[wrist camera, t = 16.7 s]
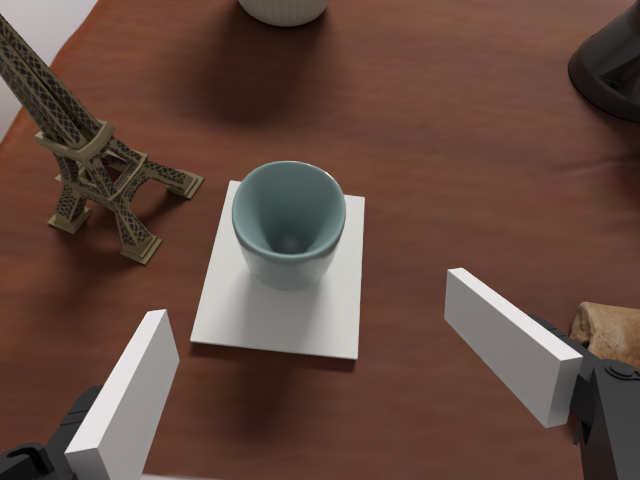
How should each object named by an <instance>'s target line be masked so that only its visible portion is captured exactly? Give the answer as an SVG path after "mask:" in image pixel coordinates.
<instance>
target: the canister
mask: <svg viewBox="0 0 640 480" xmlns="http://www.w3.org/2000/svg"><path fill="white" fill-rule="evenodd" d="M238 1H239V3H240V4H241V5H242V7H243V8H244V9H245V11H247V12H248V13H249V14H250V15H251V16H253V17H254V18H255V19H257V20H260V21H261V22H265V23H267V24H272V25H274V26H280V27H282V26H286V27H288V26H293V27H294V26H296V25H302V24H306V23H308V22H311V21H313V20H314V19H316V18H317V17H318V16H319V15H320V14H322V12H323V11H324V10H325V8H326V7H327V5H328V3H329V0H238Z"/></svg>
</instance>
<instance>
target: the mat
mask: <svg viewBox="0 0 640 480" xmlns="http://www.w3.org/2000/svg"><path fill="white" fill-rule="evenodd" d="M240 184H241V182H237V181H230V183H229V187H228V191H227V195H226V199H225V203H224V207H223V211H222V215H221V219H220V223H219V227H218V231H217V235H216V239H215V243H214V247H213V251H212V255H211V259H210V263H209V267H208V271H207V275H206V279H205V283H204V287H203V291H202V295H201V299H200V303H199V307H198V311H197V315H196V319H195V323H194V327H193V331H192V335H191V339H190V341H192V342H196V343H205V344H214V345H224V346H233V347H242V348H251V349H261V350H270V351H279V352H288V353H298V354H307V355H316V356H325V357H335V358H344V359H353V360H356V359H357V358H358V335H359V313H360V290H361V268H362V245H363V223H364V200H365V197H358V196H350V195H344V199H345V204H346V220H345V225H344V230H343V234H342V237H341V240H340V243H339V246H338V249H337V252H336V254H335V257H334V259H333V262H332V264H331V266H330V267H329V269H328V271H327V272H326V274H325V275H324V276H323V277H322V278H321V279H320V280H319V281H318V282H317V283H316V284H314V285H312V286H311V287H309V288H306V289H303V290H299V291H282V290H277V289H274V288H271V287H269V286H267V285H265V284H264V283H262V282H261V281H259V280H258V279H257V278H256V277H255V276H254V275H253V274H252V272H251V271H250V269H249V268H248V266H247V264H246V262H245V260H244V258H243V256H242V254H241V251H240V248H239V245H238V242H237V239H236V236H235V232H234V228H233V225H232V205H233V199H234V196H235V194H236V191H237V189H238V187H239V185H240Z"/></svg>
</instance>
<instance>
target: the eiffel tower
mask: <svg viewBox="0 0 640 480" xmlns="http://www.w3.org/2000/svg"><path fill="white" fill-rule="evenodd" d="M0 75H1V77H2V78H3V80H4V81H5V82H6V84H7V85H8V86H9V88H10V89H11V91H12V92H13V93H14V95H15V96H16V97H17V99H18V100H19V101H20V103H21V104H22V106H23V107H24V108H25V110H26V111H27V113H28V114H29V115H30V117H31V118H32V119H33V121H34V122H35V123H36V125H37V126H38V128H39V129H40V130H41V131H40V132H39V133H37V134H36V135H35V138H36V140H37V142H38V144H40V145H42V146H44V147H46V148H48V149H50V150H52V152H53V154H54V156H55V158H56V160H57V163H58V165H59V169H60V175H58V176H57V177H56V178H55V179H57V180H59V181H61V182H63V186H62V189H61V192H60V195H59V198H58V201H57V205H56V208H55V212H54V213H55V215H54V216H53V217H52V218H51V219H50V220H49V221H48V223H49V224H51V225H53V226H55V227H58V228H60V229H62V230H65V231H67V232H69V233H72V234H75V232H76V231H77V230H78V229H79V227H80V226H81V225H82V224H83V223H84V221H85V220H86V219H87V218H88V216H89V215H90V214H91V213H92V212H93V211H92V210H91V209H89V208H87V207H85V205H86V201H87V199H90V200H93V201H95V202H97V203H99V204H101V205H103V206H105V207H107V208H108V209H110V210H112V211H114V212H115V217H116V221H117V226H118V231H119V235H120V240H121V245H122V247H121V249H122V250H121V252H120V254H121V255H123V256H126V257H128V258H130V259H133V260H135V261H137V262H140V263H142V264H144V265H147V263H148V262H149V260H150V259H151V257H152V256H153V255H154V253H155V252H156V250H157V249H158V247H159V246H160V244H161V243H162V241H163V240H162V239H159V238H158V237H157V236H154V235H152V234H150V233H149V232H148V231H147V229H146V228H145V227H144V226H143V224H142V223H141V222H140V221H139V219H138V218H137V217H136V216H135V214H134V213H133V212H132V211H131V210H130V208H129V207H130V204H131V201H132V199H133V197H134V195H135V192H136V191H137V189H138V188H139V187H140V186H141V185H142V184H143V183H145V182H146V181H147V180H149V179H153V180H155V181H158V182H161V183H164V184H167V185H166V189H167V190H168V191H171V192H173V193H176V194H178V195H181V196H183V197H186V198H188V199H191V198H192V197H193V196H194V194H195V193H196V191H197V190H198V188H199V187H200V185H201V184H202V182H203V181H204V178H203V177H200V176H198V175H195V174H192V173H190V172H187V171H185V170H182V169H180V170H178V169H171V168H168V167H165V166H162V165H159V164H156V163H153V162H150V161H147V157H148V154H145V153H141V152H138V151H135V150H133V149H130V148H128V147H127V146H125V145H124V144H123V143H122V142H120V141H119V140H118V139H117V138H115V137H114V136H113V132H114V130H115V129H116V128H114V127H113V126H112V125H111V124H109V123H108V122H106V121H102V120H98V119H95V118H94V117H93V116H92V115H91V113H90V112H89V111H88V110H87V109H86V108H85V107H84V106H83V105H82V104H81V102H80V101H79V100H78V99H77V98H76V97H75V96H74V95H73V94H72V93H71V91H70V90H69V89H68V88H67V87H66V86H65V85H64V84H63V83H62V82H61V80H60V79H59V78H58V77H57V76H56V75H55V74H54V73H53V72H52V71H51V69H50V68H49V67H48V66H47V65H46V64H45V63H44V62H43V61H42V60H41V58H40V57H39V56H38V55H37V54H36V53H35V52H34V51H33V50H32V48H31V47H30V46H29V45H28V44H27V43H26V42H25V41H24V40H23V38H22V37H21V36H20V35H19V34H18V33H17V32H16V31H15V30H14V29H13V28H12V26H11V25H10V24H9V23H8V22H7V21H6V20H5V19H4V17H3V16H2V15H1V14H0ZM106 166H108V167H111V168H113V169H116V170H118V171H121V172H123V173H122V174H121V175H120V177H119V178H118V179H117V180H116V181H115V182H114V184H113V182H112V180H111V178H110V177H109V175H108V173H107V171H106V169H105V168H104V167H106ZM92 180H93V181H94V182H92Z"/></svg>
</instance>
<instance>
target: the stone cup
mask: <svg viewBox="0 0 640 480" xmlns="http://www.w3.org/2000/svg"><path fill="white" fill-rule="evenodd" d="M571 328H572V331H571V334H570V338H571V339H573V340H574V341H576V342H577V343H578V344H580V345H581V346H583V347H584V348H586V349H587V350H588V351H590V352H591V353H593V354H594V355H596V356H597V357H598V358H600V359H613V360H618V361H621V362H624V363H627V364H629V365H631V366H633V367H635V368H637V369H638V370H640V310H639V309H631V308H624V307H616V306H608V305H601V304H595V303H590V302H583V303H581V304H580V305H579V307H578V309H577V315H576V318H575V320H574V322H573V325H572V327H571Z"/></svg>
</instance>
